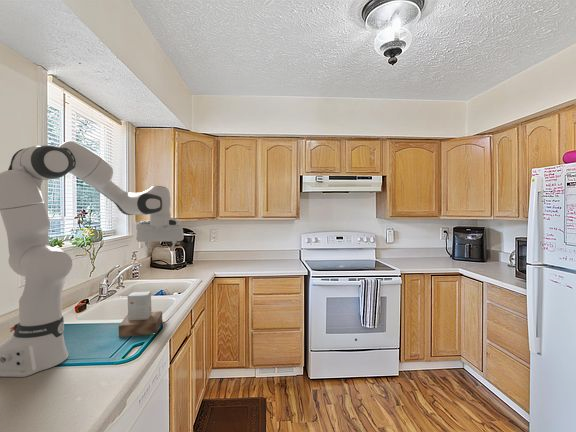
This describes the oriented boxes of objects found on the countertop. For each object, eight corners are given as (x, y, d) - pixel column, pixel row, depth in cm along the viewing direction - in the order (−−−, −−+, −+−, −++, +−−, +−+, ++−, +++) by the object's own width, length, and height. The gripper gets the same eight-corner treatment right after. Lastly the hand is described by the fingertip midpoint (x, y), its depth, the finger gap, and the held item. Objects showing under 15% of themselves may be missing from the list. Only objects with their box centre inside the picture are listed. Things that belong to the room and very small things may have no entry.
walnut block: (118, 338, 123) (118, 325, 123) (128, 324, 136) (128, 313, 136) (156, 334, 126) (156, 322, 126) (162, 322, 140) (162, 311, 139)
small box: (151, 315, 134) (151, 291, 134) (148, 319, 129) (147, 294, 128) (132, 316, 133) (131, 292, 133) (127, 321, 127) (127, 295, 127)
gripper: (134, 221, 137) (134, 252, 138) (182, 221, 141) (182, 251, 141) (138, 221, 143) (138, 250, 144) (184, 220, 147) (184, 249, 148)
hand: (160, 251), depth 143 cm, fingers open, 8 cm apart
